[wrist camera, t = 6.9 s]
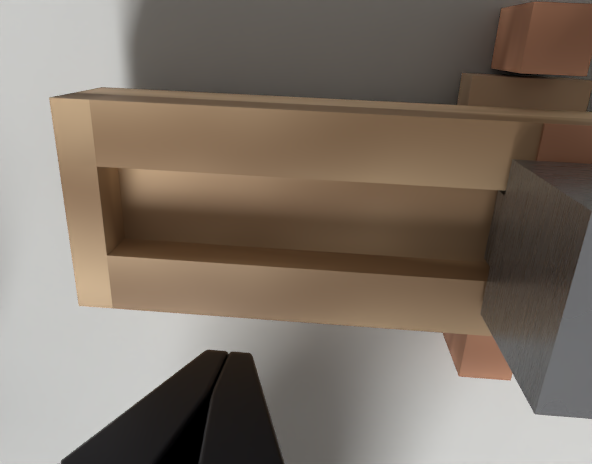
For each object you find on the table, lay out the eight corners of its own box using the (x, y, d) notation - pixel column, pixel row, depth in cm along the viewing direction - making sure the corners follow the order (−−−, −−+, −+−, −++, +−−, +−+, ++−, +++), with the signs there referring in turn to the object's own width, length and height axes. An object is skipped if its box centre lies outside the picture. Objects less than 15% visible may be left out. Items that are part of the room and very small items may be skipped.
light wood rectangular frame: (814, 361, 21) (954, 453, 16) (139, 311, 23) (88, 382, 18) (989, 27, 16) (1263, 21, 11) (111, -8, 18) (29, -26, 13)
